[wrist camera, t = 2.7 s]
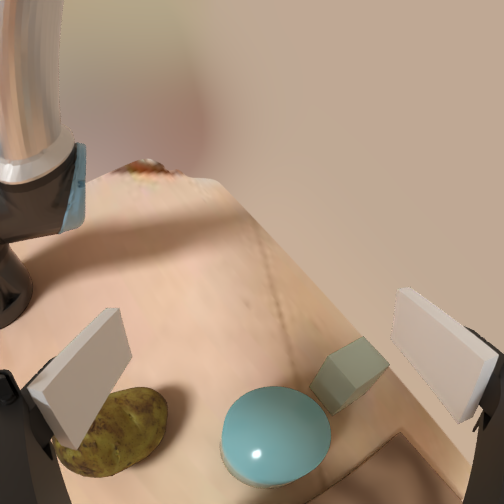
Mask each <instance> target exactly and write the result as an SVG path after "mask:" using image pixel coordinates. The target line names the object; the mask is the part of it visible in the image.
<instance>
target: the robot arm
mask: <svg viewBox="0 0 504 504" xmlns="http://www.w3.org/2000/svg"><path fill="white" fill-rule="evenodd" d="M63 3H64V0H0V328H3V327H5V326H6V325H8V324H10V323H11V322H12V321H14V320H15V319H16V318H17V317H18V316H19V315H20V314H21V313H22V312H23V311H24V309H25V308H26V307H27V305H28V303H29V301H30V299H31V296H32V291H33V284H32V281H31V278H30V275H29V273H28V271H27V269H26V267H25V266H24V265H23V263H22V262H21V261H20V260H19V258H18V257H17V256H16V254H15V253H14V252H13V250H12V249H11V248H10V246H9V243H13V242H18V241H23V240H28V239H33V238H39V237H44V236H49V235H55V234H61V233H63V232H65V231H69V230H73V229H76V228H79V227H80V226H81V225H82V224H83V222H84V219H85V176H86V145H85V144H82V143H81V144H80V143H75V142H74V135H73V132H72V131H71V130H70V129H69V128H68V127H67V126H65V125H63V124H61V118H60V101H59V47H60V31H61V20H62V11H63ZM391 340H392V341H393V343H394V344H395V345H396V346H397V347H398V349H399V350H400V351H401V352H402V354H403V355H404V356H405V357H406V358H407V360H408V361H409V362H410V363H411V365H412V366H413V367H414V368H415V369H416V371H417V372H418V373H419V374H420V376H421V377H422V378H423V379H424V381H425V382H426V383H427V385H428V386H429V387H430V388H431V390H432V391H433V392H434V393H435V395H436V396H437V397H438V398H439V400H440V401H441V402H442V404H443V405H444V406H445V408H446V409H447V410H448V412H449V413H450V414H451V416H452V417H453V418H454V420H455V421H456V422H457V424H459V423H461V422H463V421H465V420H468V419H470V418H472V417H473V415H474V413H475V411H476V409H477V407H478V405H480V406H481V407H482V409H483V411H482V413H481V415H480V417H479V419H478V421H477V423H476V425H475V426H474V428H473V432H475V430H476V429H477V427H478V426H479V429H478V437H477V443H476V449H475V455H474V460H473V465H472V470H471V474H470V478H469V482H468V486H467V490H466V494H465V497H464V500H463V504H504V354H503V353H502V352H500V351H499V350H498V349H497V348H495V347H494V346H493V345H492V344H490V343H489V342H486V340H485V339H484V338H483V337H480V335H479V334H478V333H476V332H475V331H474V330H472V329H470V328H467V327H465V326H462V325H461V324H460V323H458V322H457V321H456V320H454V319H453V318H452V317H450V316H449V315H448V314H446V313H445V312H444V311H442V310H441V309H439V308H438V307H437V306H435V305H434V304H433V303H431V302H430V301H429V300H427V299H426V298H425V297H423V296H422V295H420V294H419V293H418V292H416V291H415V290H413V289H412V288H411V287H407V288H400V289H397V294H396V303H395V311H394V319H393V326H392V333H391ZM131 358H132V354H131V351H130V347H129V344H128V340H127V336H126V333H125V329H124V325H123V321H122V317H121V313H120V309H119V308H106V309H105V310H103V311H102V312H101V313H100V314H99V315H98V316H97V317H96V318H95V319H94V320H93V321H92V322H91V323H90V324H89V325H88V326H87V327H86V328H85V329H84V330H82V331H81V332H80V333H79V334H78V335H77V336H76V337H75V338H74V339H73V340H72V341H71V342H70V343H69V344H68V345H67V346H66V347H65V348H64V349H63V350H62V351H61V352H60V353H59V354H58V355H57V356H56V357H54V358H52V359H50V360H49V361H48V362H47V363H46V364H45V365H44V366H43V368H41V369H40V370H39V371H38V374H35V375H34V376H33V378H32V379H31V380H30V381H29V382H28V383H27V384H26V385H25V386H24V387H23V388H22V389H21V390H20V389H19V387H18V385H17V383H16V381H15V379H14V377H13V375H12V373H11V372H10V371H9V370H4V369H3V370H0V504H72V503H71V500H70V498H69V495H68V492H67V489H66V486H65V483H64V480H63V477H62V474H61V471H60V467H59V464H58V460H57V456H56V452H55V448H54V446H53V444H52V442H51V441H50V440H51V438H52V437H53V435H54V436H55V437H56V439H57V440H58V442H59V443H60V445H61V446H64V447H68V448H71V449H74V450H77V449H78V448H79V446H80V444H81V442H82V440H83V439H84V437H85V435H86V433H87V432H88V430H89V428H90V426H91V425H92V423H93V421H94V419H95V418H96V416H97V414H98V413H99V411H100V409H101V407H102V406H103V404H104V402H105V401H106V399H107V397H108V396H109V394H110V392H111V391H112V389H113V387H114V386H115V384H116V383H117V381H118V379H119V378H120V376H121V374H122V373H123V371H124V370H125V368H126V366H127V365H128V363H129V362H130V360H131Z"/></svg>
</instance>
